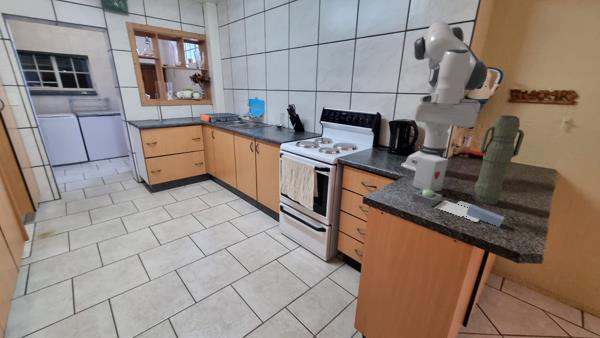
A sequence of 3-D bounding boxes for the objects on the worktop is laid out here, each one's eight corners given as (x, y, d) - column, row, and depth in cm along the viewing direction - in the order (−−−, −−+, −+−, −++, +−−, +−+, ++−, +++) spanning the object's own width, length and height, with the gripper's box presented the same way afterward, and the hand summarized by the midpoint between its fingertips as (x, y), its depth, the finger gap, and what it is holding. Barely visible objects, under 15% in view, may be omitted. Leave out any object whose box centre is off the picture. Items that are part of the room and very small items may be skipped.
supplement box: (429, 193, 107) (436, 161, 103) (412, 186, 115) (417, 156, 110) (441, 190, 111) (449, 159, 107) (424, 183, 119) (430, 154, 114)
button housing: (412, 199, 101) (413, 193, 100) (421, 195, 106) (422, 188, 105) (431, 207, 95) (433, 200, 94) (440, 201, 100) (441, 195, 99)
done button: (419, 198, 100) (421, 190, 99) (423, 196, 103) (425, 188, 101) (429, 202, 97) (431, 193, 96) (433, 199, 100) (435, 191, 99)
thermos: (506, 207, 96) (535, 118, 85) (472, 202, 100) (495, 116, 89) (496, 198, 104) (522, 115, 93) (465, 194, 108) (486, 114, 97)
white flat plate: (434, 208, 94) (434, 207, 94) (444, 201, 100) (445, 200, 100) (476, 223, 84) (476, 222, 84) (485, 214, 90) (485, 213, 90)
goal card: (456, 204, 98) (456, 203, 98) (460, 201, 100) (460, 200, 100) (473, 209, 94) (473, 208, 93) (476, 206, 96) (477, 206, 96)
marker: (468, 206, 88) (502, 220, 81) (471, 204, 90) (504, 217, 82) (466, 213, 89) (499, 227, 82) (469, 211, 91) (501, 224, 84)
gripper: (484, 99, 81) (474, 140, 86) (423, 97, 96) (417, 131, 101) (478, 99, 78) (468, 142, 82) (416, 97, 92) (410, 132, 97)
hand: (439, 136), depth 91 cm, fingers closed
